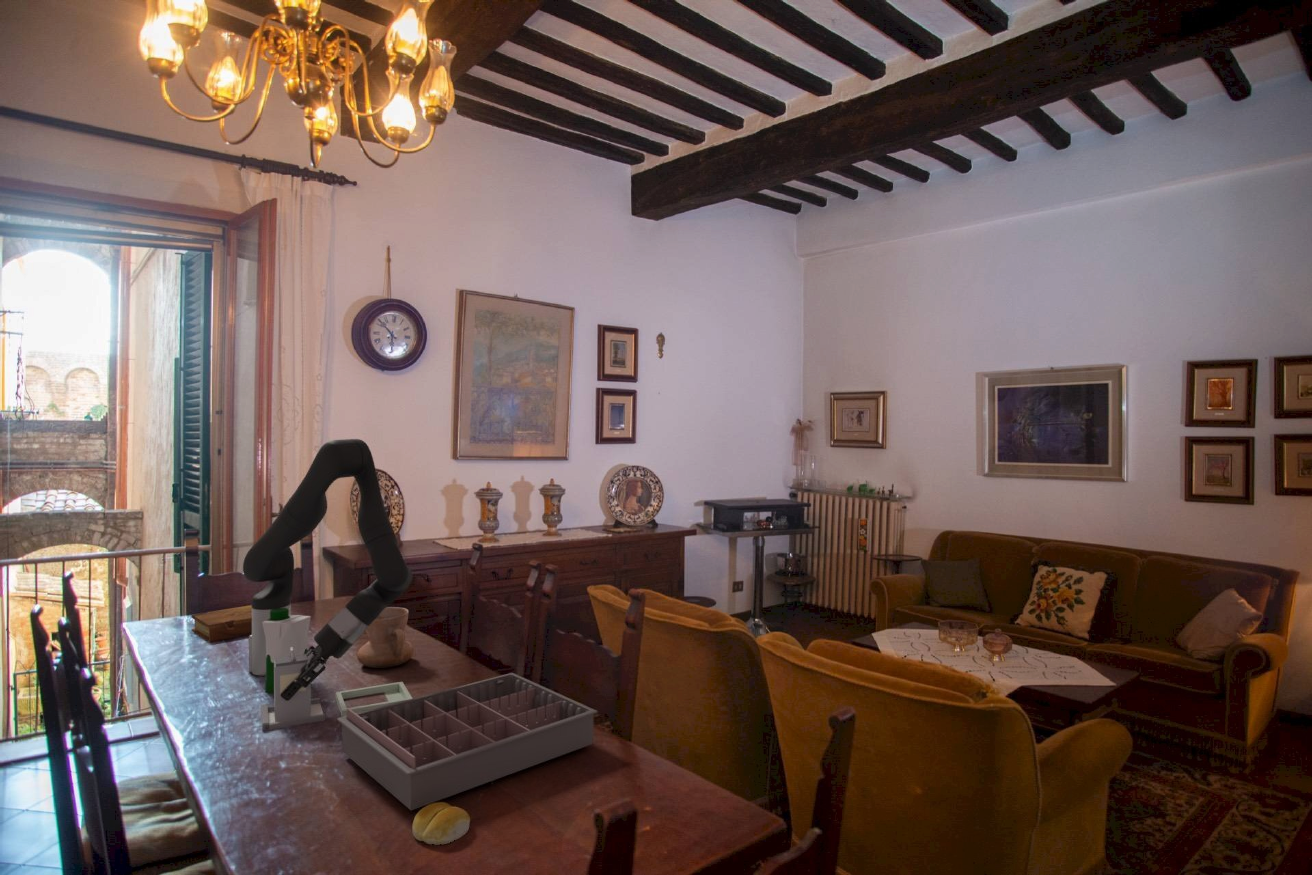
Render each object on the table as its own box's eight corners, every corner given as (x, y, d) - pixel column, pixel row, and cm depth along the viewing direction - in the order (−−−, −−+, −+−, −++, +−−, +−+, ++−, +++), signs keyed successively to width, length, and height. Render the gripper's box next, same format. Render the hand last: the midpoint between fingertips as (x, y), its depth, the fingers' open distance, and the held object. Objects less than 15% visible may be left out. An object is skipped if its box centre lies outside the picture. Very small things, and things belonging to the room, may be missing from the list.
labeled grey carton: (309, 708, 168) (308, 643, 168) (310, 716, 164) (310, 649, 164) (274, 714, 165) (273, 648, 165) (275, 722, 160) (274, 654, 160)
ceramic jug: (347, 662, 205) (346, 610, 204) (397, 650, 215) (397, 601, 214) (373, 679, 192) (373, 625, 191) (426, 666, 202) (426, 614, 201)
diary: (209, 644, 223) (209, 625, 223) (191, 632, 236) (191, 614, 235) (290, 629, 239) (290, 611, 239) (268, 618, 252) (268, 601, 252)
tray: (402, 691, 182) (402, 681, 182) (412, 709, 171) (412, 698, 171) (335, 702, 175) (335, 692, 175) (342, 722, 163) (342, 710, 163)
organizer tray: (598, 750, 150) (598, 701, 150) (408, 822, 123) (407, 762, 122) (512, 706, 173) (512, 663, 173) (336, 758, 146) (336, 707, 146)
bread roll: (440, 812, 126) (440, 789, 126) (478, 828, 121) (478, 804, 121) (399, 835, 119) (399, 810, 119) (438, 853, 114) (438, 827, 114)
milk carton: (283, 684, 187) (283, 605, 187) (315, 687, 185) (315, 606, 185) (258, 697, 178) (257, 613, 178) (291, 699, 176) (291, 615, 176)
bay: (319, 706, 173) (319, 695, 172) (324, 724, 162) (324, 712, 162) (261, 715, 167) (261, 704, 167) (262, 735, 156) (262, 723, 156)
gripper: (325, 614, 174) (268, 674, 168) (332, 629, 161) (270, 694, 156) (350, 634, 177) (294, 693, 171) (358, 650, 164) (298, 714, 158)
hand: (283, 693), depth 163 cm, fingers closed on labeled grey carton, 5 cm apart
